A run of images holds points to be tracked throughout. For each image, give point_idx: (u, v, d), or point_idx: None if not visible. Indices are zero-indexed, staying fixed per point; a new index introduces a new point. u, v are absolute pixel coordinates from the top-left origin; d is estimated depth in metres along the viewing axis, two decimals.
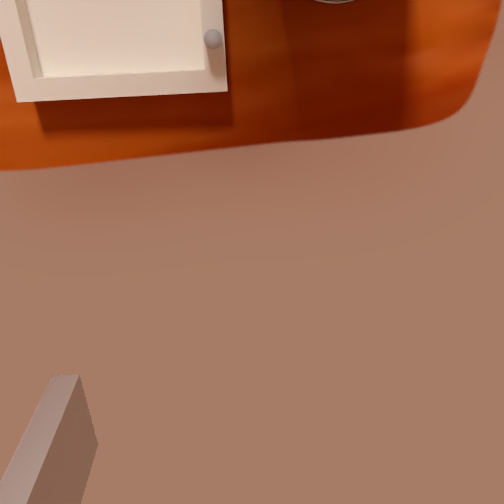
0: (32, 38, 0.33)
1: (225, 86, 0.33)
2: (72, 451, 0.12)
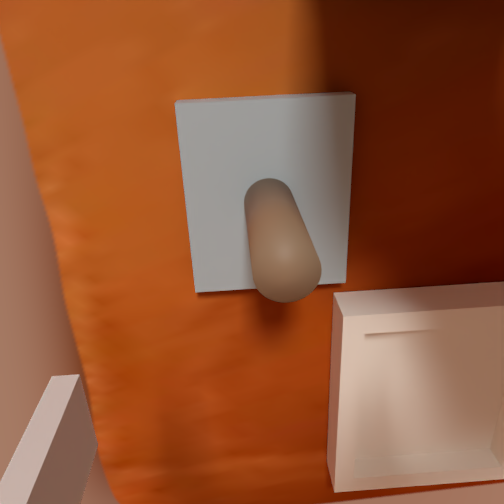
0: None
1: None
2: (72, 451, 0.12)
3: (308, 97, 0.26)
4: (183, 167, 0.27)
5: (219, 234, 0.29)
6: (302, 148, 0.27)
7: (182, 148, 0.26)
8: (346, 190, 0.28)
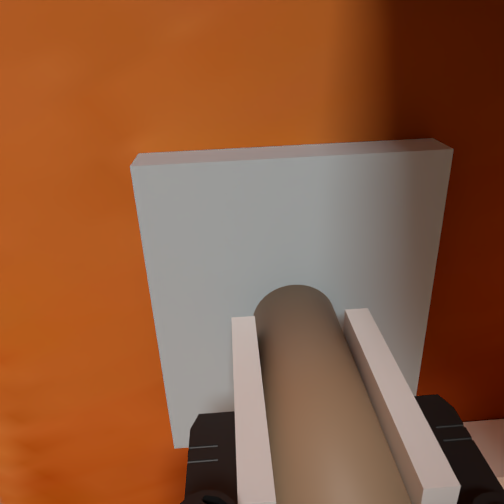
0: None
1: None
2: None
3: (369, 154, 0.14)
4: (149, 270, 0.16)
5: (211, 368, 0.18)
6: (353, 237, 0.16)
7: (146, 239, 0.15)
8: (423, 302, 0.17)
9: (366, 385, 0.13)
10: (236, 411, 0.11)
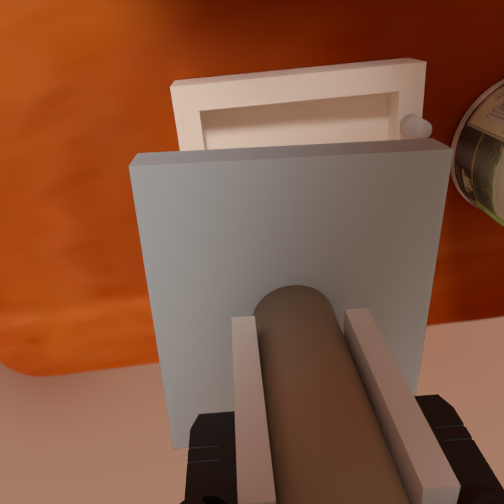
0: None
1: None
2: None
3: (369, 154, 0.14)
4: (148, 270, 0.16)
5: (211, 368, 0.18)
6: (353, 237, 0.15)
7: (144, 239, 0.15)
8: (423, 302, 0.17)
9: (366, 385, 0.13)
10: (236, 411, 0.11)
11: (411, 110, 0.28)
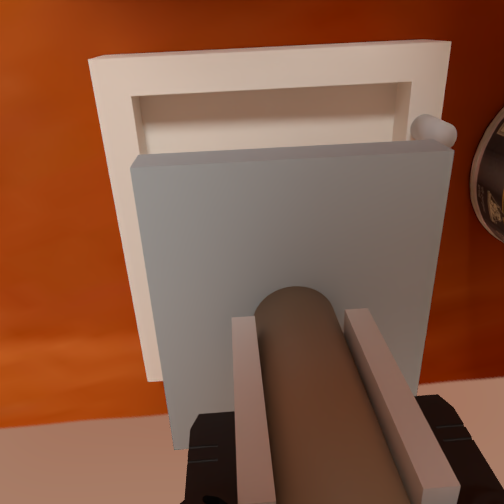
0: None
1: None
2: None
3: (370, 156, 0.14)
4: (149, 271, 0.16)
5: (211, 369, 0.18)
6: (354, 238, 0.15)
7: (145, 240, 0.15)
8: (423, 303, 0.17)
9: (366, 385, 0.13)
10: (236, 411, 0.11)
11: (427, 109, 0.20)
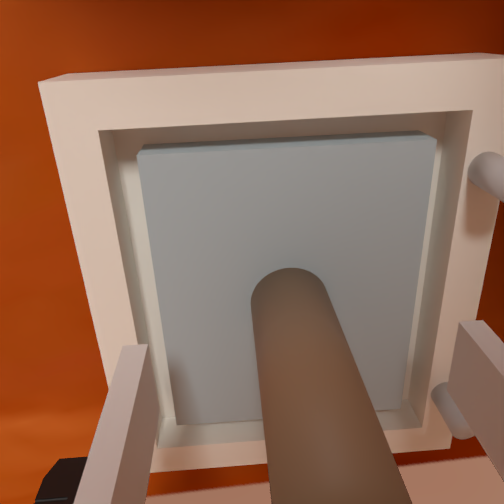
0: (154, 379, 0.21)
1: (448, 443, 0.22)
2: (146, 412, 0.13)
3: (359, 144, 0.15)
4: (154, 253, 0.17)
5: (212, 347, 0.19)
6: (345, 222, 0.17)
7: (150, 223, 0.16)
8: (411, 284, 0.18)
9: (502, 405, 0.12)
10: (88, 460, 0.10)
11: (490, 145, 0.15)
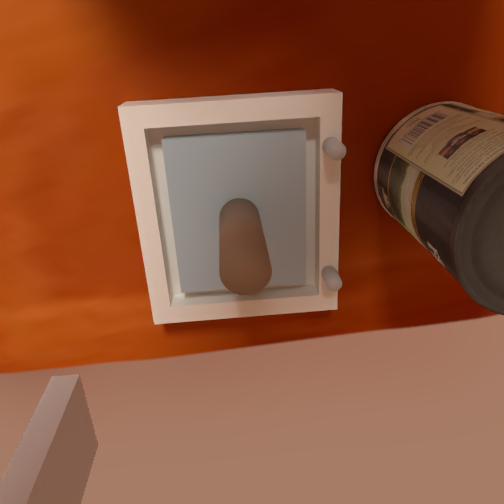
0: (168, 269, 0.37)
1: (335, 305, 0.38)
2: (72, 451, 0.12)
3: (268, 134, 0.32)
4: (169, 190, 0.33)
5: (199, 244, 0.35)
6: (265, 173, 0.33)
7: (167, 174, 0.33)
8: (302, 207, 0.34)
9: None
10: None
11: (331, 133, 0.32)
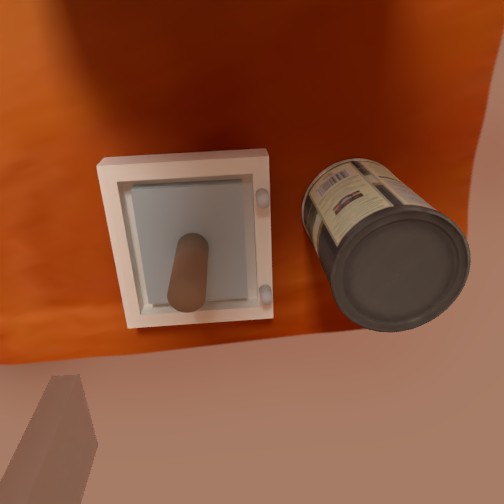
0: (139, 285, 0.47)
1: (272, 315, 0.48)
2: (72, 451, 0.12)
3: (213, 185, 0.42)
4: (137, 226, 0.43)
5: (162, 267, 0.45)
6: (211, 215, 0.43)
7: (136, 215, 0.42)
8: (242, 240, 0.44)
9: None
10: None
11: (262, 186, 0.42)
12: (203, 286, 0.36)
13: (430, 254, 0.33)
